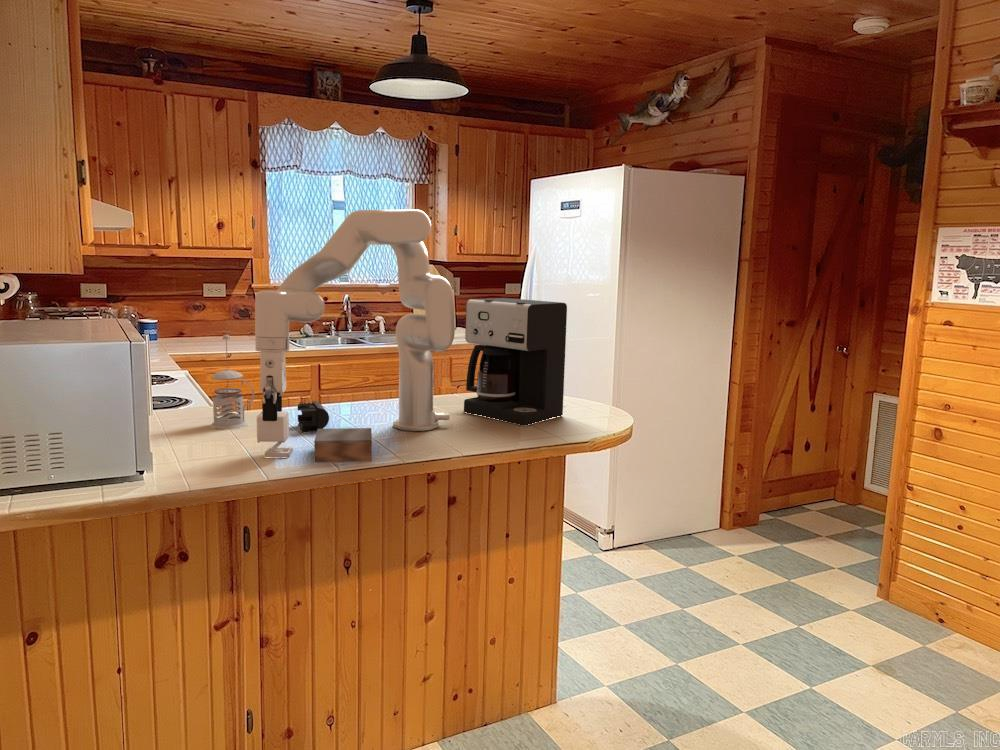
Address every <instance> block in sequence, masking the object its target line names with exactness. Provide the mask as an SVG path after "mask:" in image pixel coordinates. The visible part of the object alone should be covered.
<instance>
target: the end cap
mask: <svg viewBox="0 0 1000 750" xmlns="http://www.w3.org/2000/svg"><path fill="white" fill-rule="evenodd" d="M297 411H299V412H300V411H301V414H298V415H297V422H298V424H297V427H298V428H299V427H300V428H299V429H300V431H301V433H303V432H306V433H317V429H325V428H326V427H327V425H328V424H329V422H330V414H329V413H328V411H327V410H326V408H324V406H323V405H322V404H321V403H320V402H318V401H316V400H312V401H311V402H310V403H298V404H297Z"/></svg>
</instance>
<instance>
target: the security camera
mask: <svg viewBox="0 0 1000 750" xmlns="http://www.w3.org/2000/svg"><path fill="white" fill-rule="evenodd" d="M289 437H290V414H289V411H282V412H277V421H263V419H262V411H261V412H260V413H259V414H257V416H256V442H257V443H261V442H262V443H263V442H266V443H267V442H269V443H271V442H272V443H273V442H274V443H275V444H273V446H269V447H268V448H267V449H266V450H265V451H264V458H265V457H289V458H290V457H291V455H292V454H293V446H281V445H282V444H285V443H286V441H287V440H288V439H289ZM291 453H292V454H291ZM290 454H291V455H290Z"/></svg>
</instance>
